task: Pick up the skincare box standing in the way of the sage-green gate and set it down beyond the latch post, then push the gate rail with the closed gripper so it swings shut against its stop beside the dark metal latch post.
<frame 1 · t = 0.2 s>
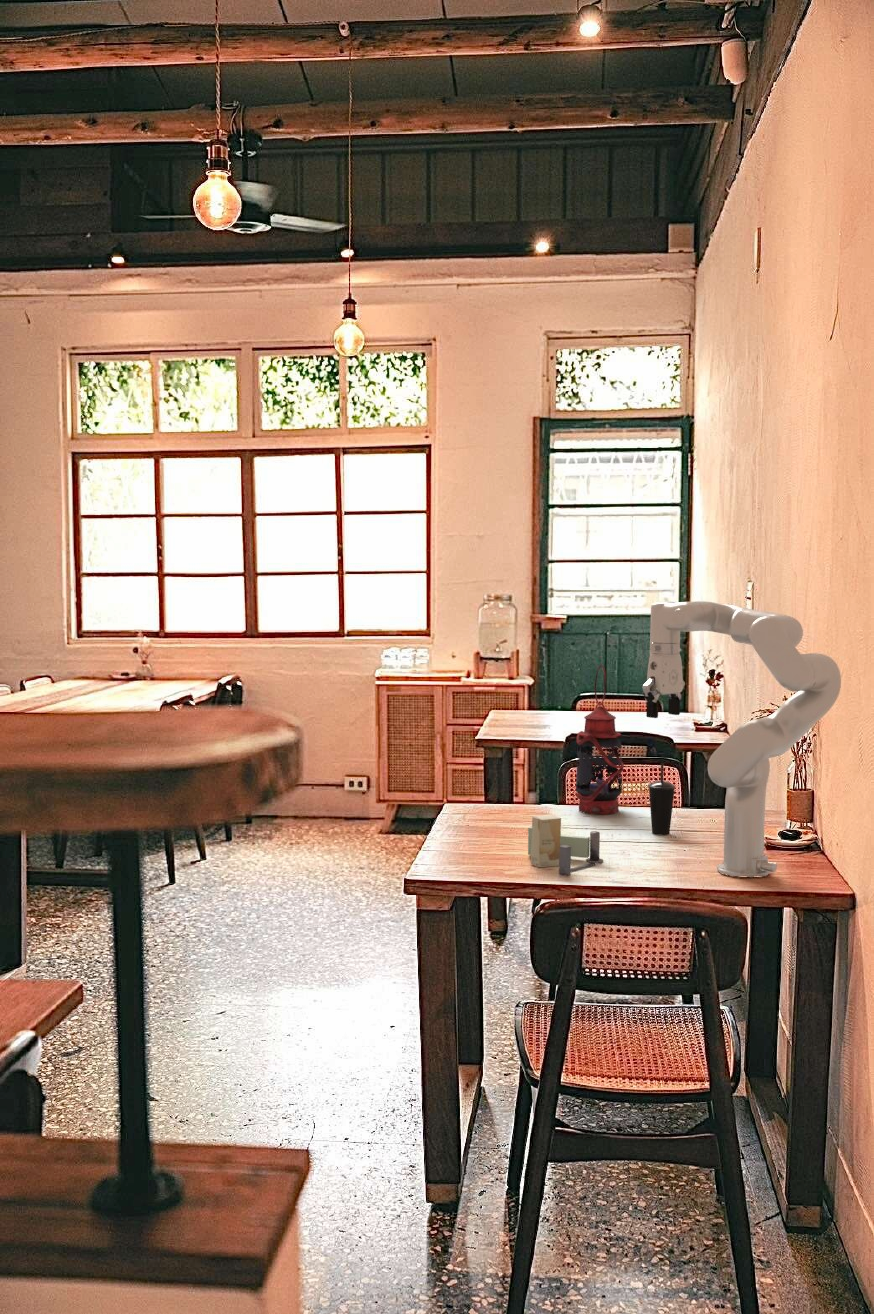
hand: (663, 716, 313), 37 cm above the table, tool pointing down, fingers open, 9 cm apart
drinking cup: (660, 834, 342), on the table
latch post: (564, 874, 295), on the table
gate: (558, 842, 312), point 4 cm above the table, hinge at -65.0°
hinge post: (594, 861, 309), on the table
skincare box: (545, 866, 305), on the table
lantern: (599, 811, 374), on the table
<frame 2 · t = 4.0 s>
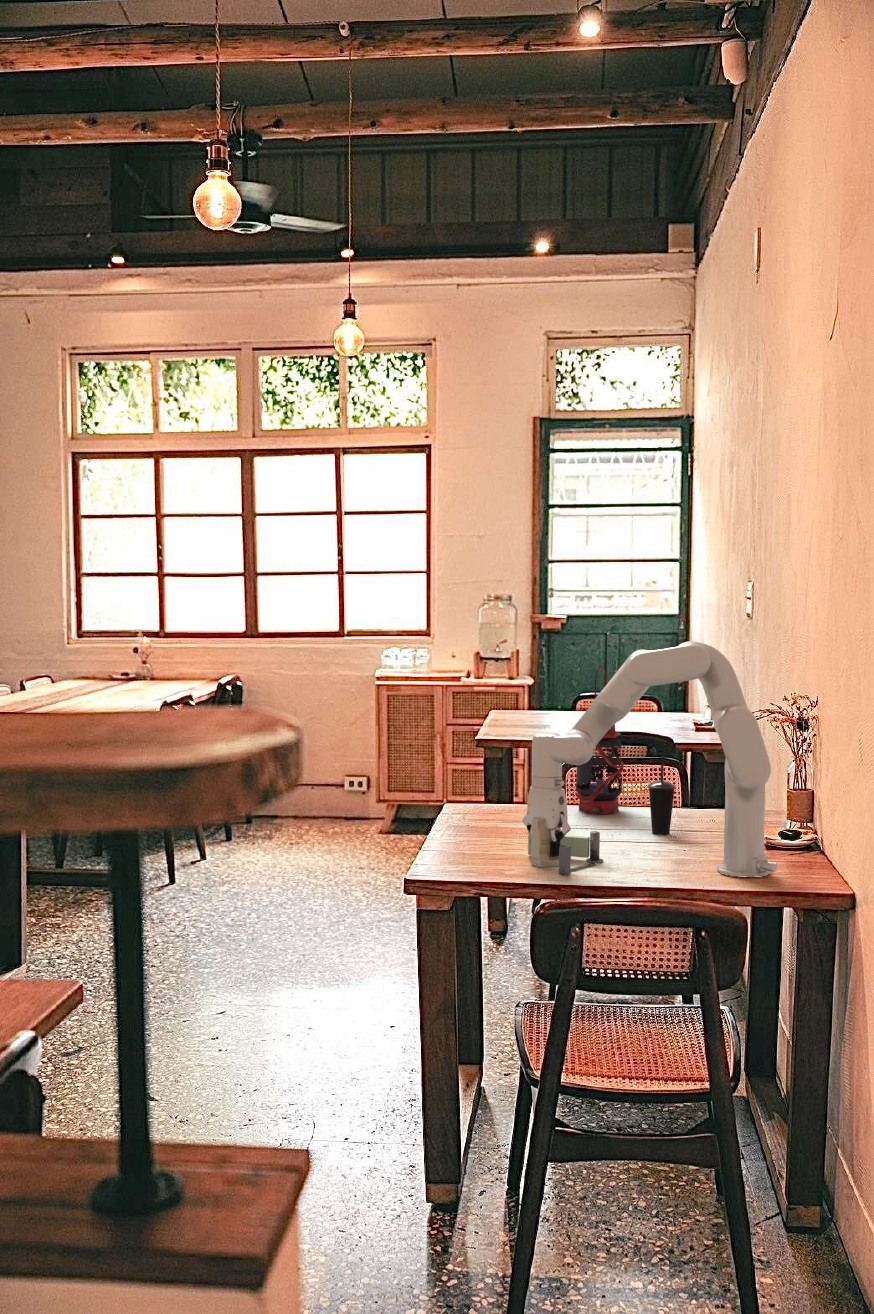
hand: (545, 853, 304), 3 cm above the table, tool pointing down, fingers closed on skincare box, 5 cm apart
skincare box: (545, 865, 305), on the table, touching gripper
everything else where it was.
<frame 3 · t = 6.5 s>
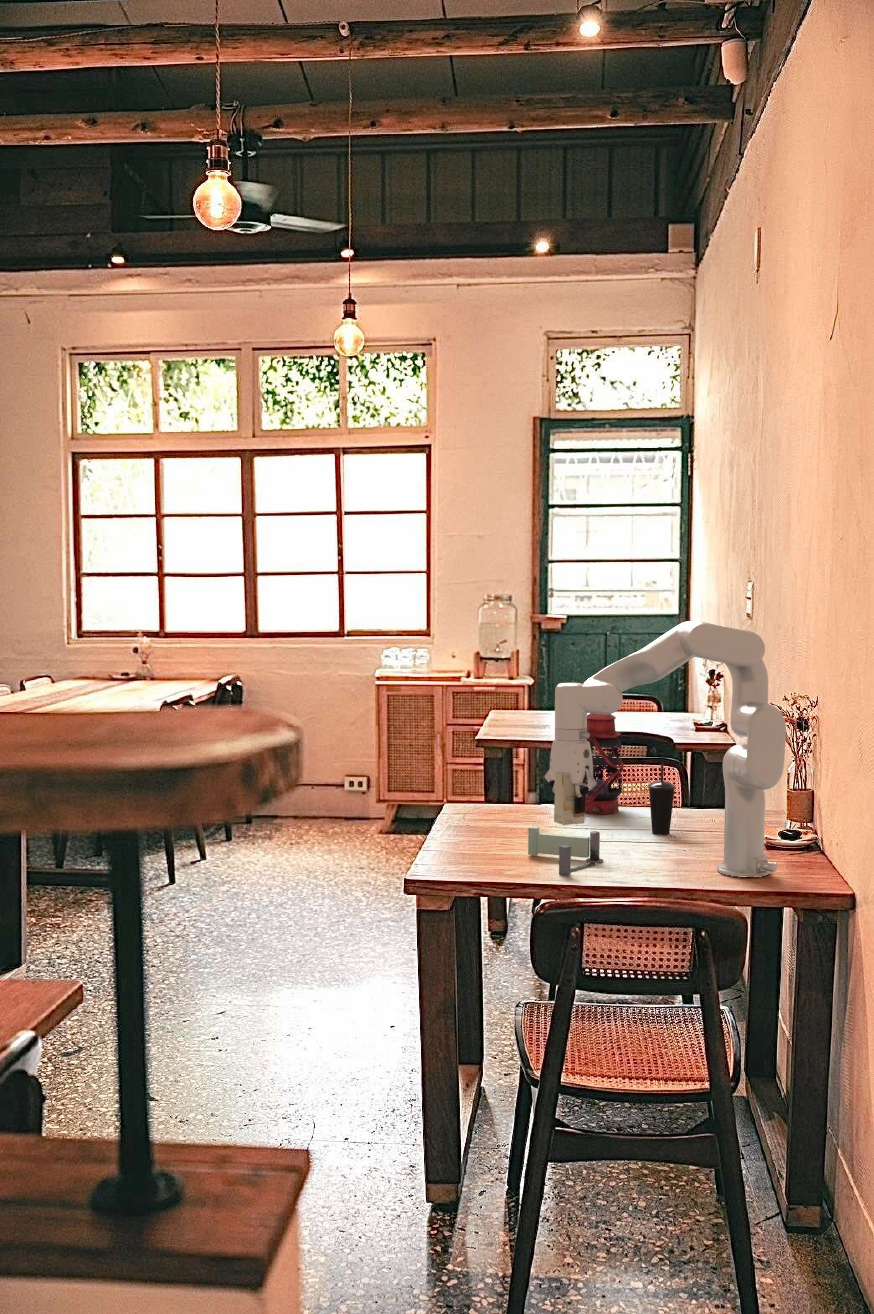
hand: (569, 810, 288), 17 cm above the table, tool pointing down, fingers closed on skincare box, 5 cm apart
skincare box: (569, 823, 288), point 14 cm above the table, touching gripper
everything else where it was.
when the fingers open (4 cm above the table, at t = 9.2 s): skincare box drops 1 cm, on the table.
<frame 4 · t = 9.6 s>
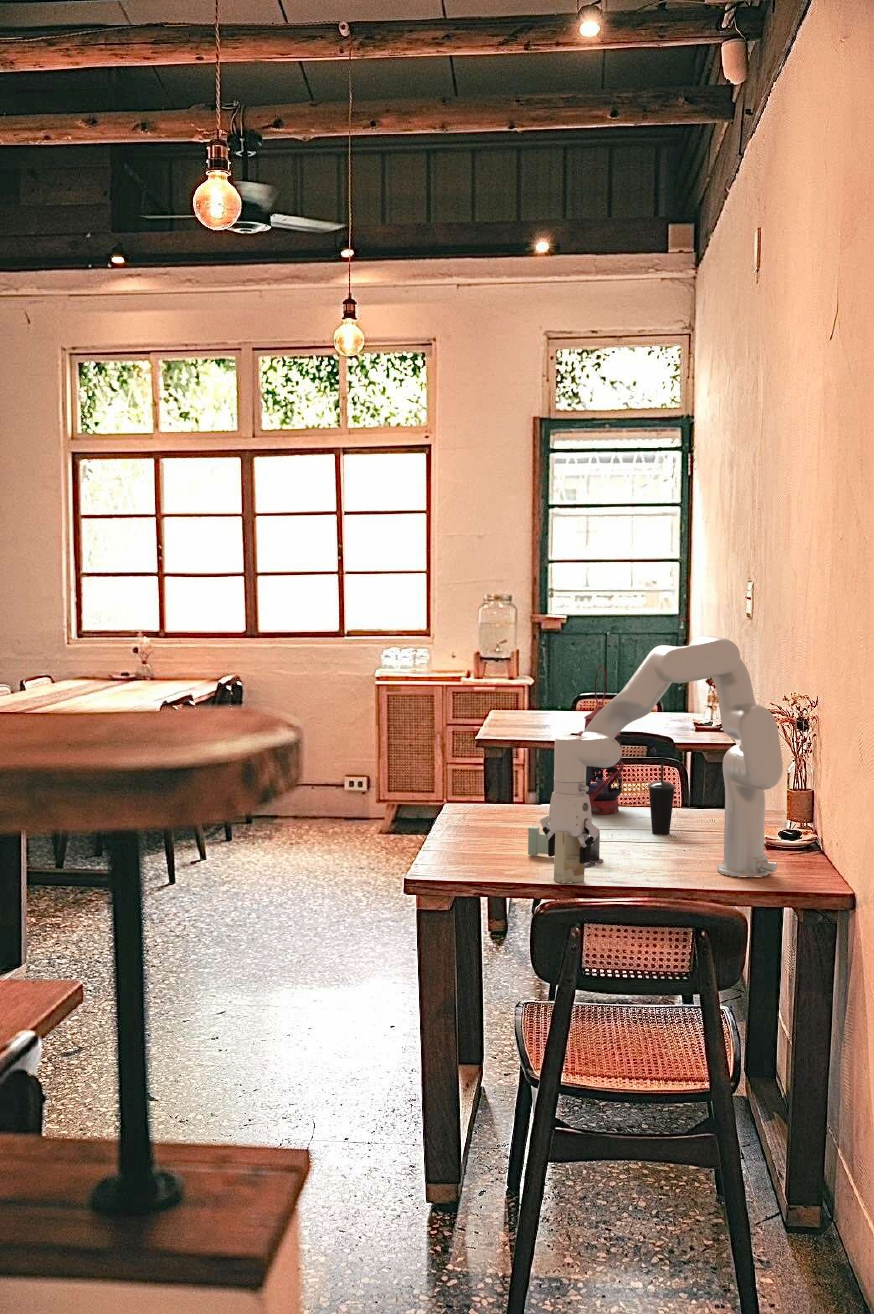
hand: (568, 859, 289), 5 cm above the table, tool pointing down, fingers open, 9 cm apart
skincare box: (569, 882, 289), on the table
everything else where it was.
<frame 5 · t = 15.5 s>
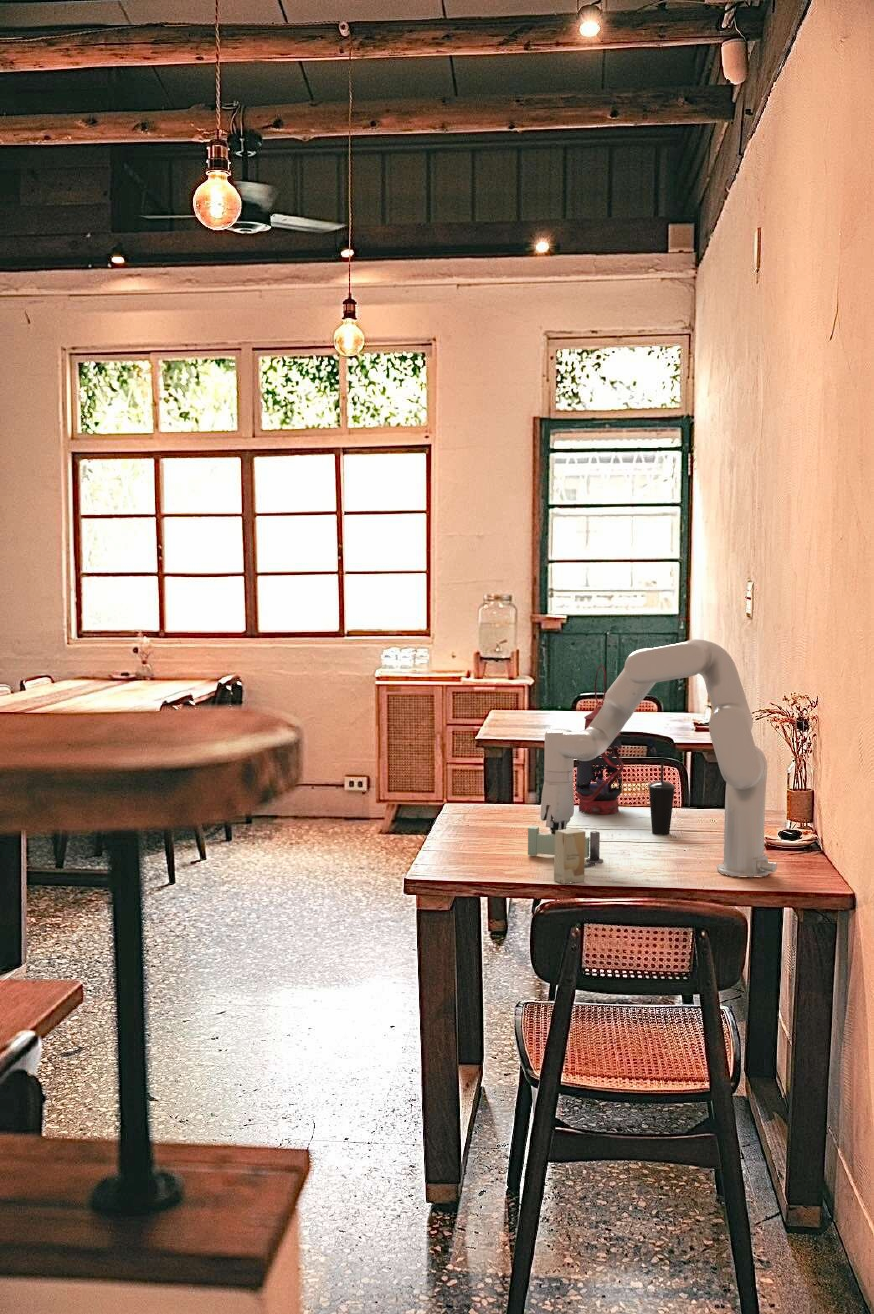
hand: (557, 846, 315), 2 cm above the table, tool pointing down, fingers closed
gate: (558, 843, 312), point 4 cm above the table, hinge at -63.6°, touching gripper
everything else where it was.
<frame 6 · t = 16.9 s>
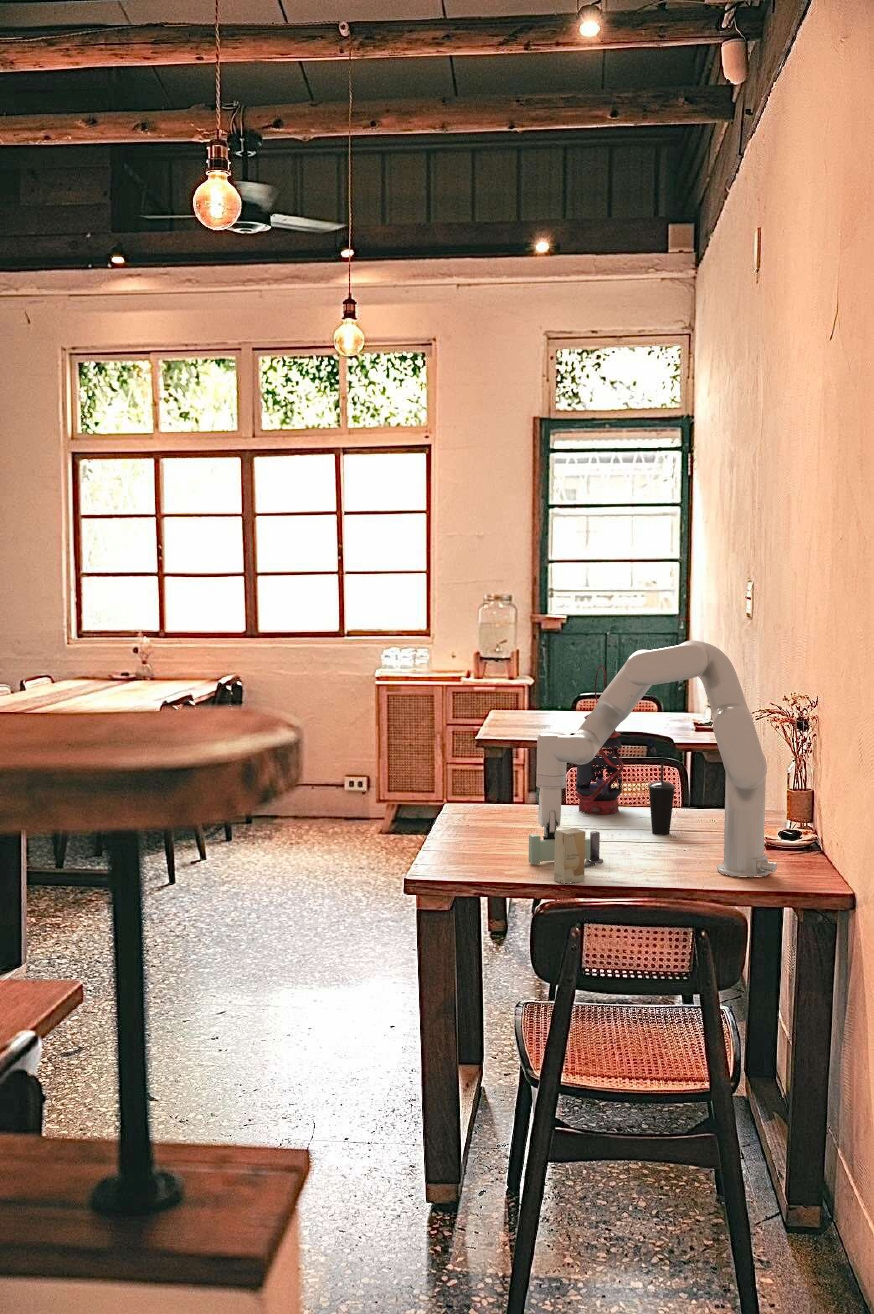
hand: (549, 852, 309), 2 cm above the table, tool pointing down, fingers closed
gate: (559, 847, 306), point 4 cm above the table, hinge at -30.2°, touching gripper
everything else where it was.
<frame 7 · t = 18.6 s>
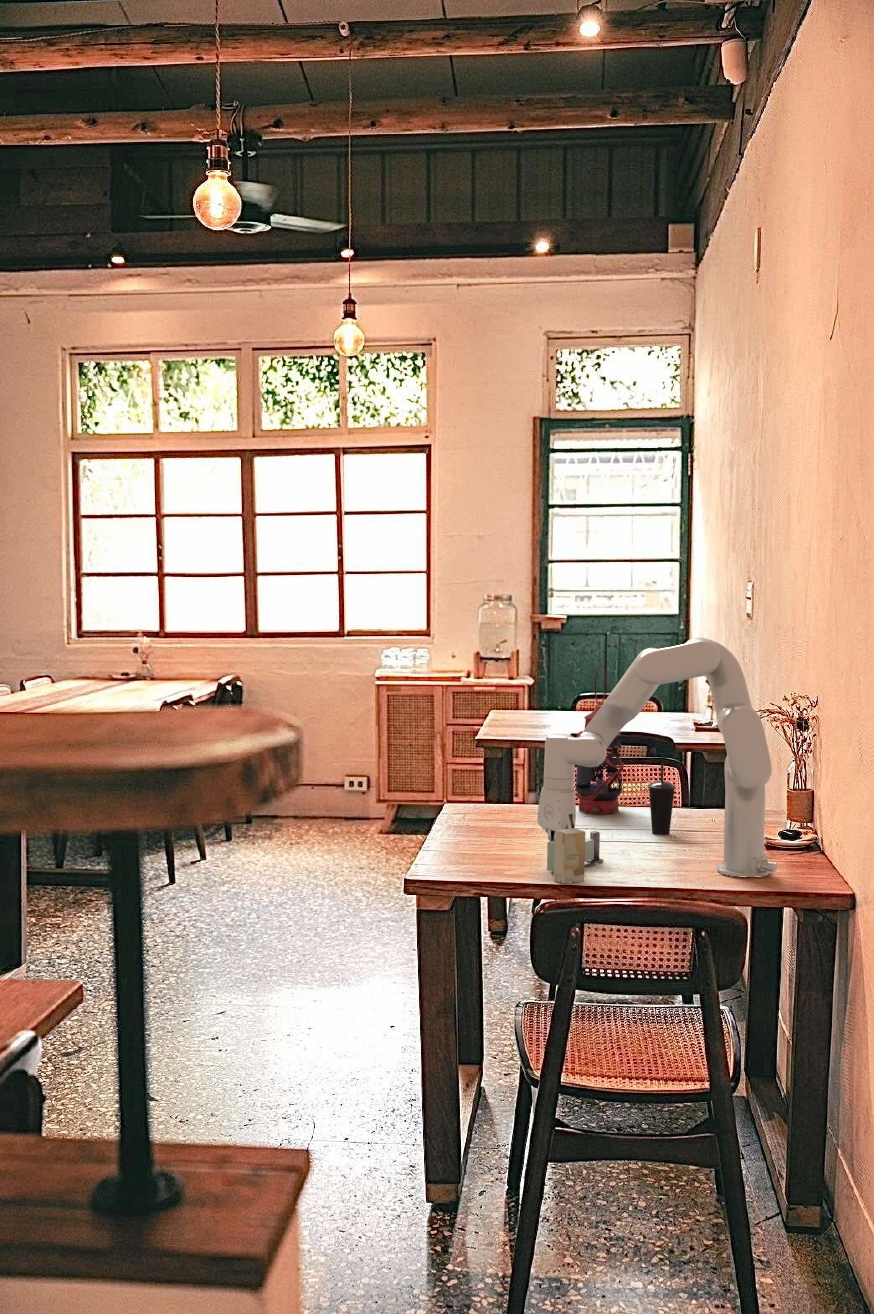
hand: (555, 856, 303), 2 cm above the table, tool pointing down, fingers closed
gate: (571, 851, 302), point 4 cm above the table, hinge at 0.5°, touching gripper
everything else where it was.
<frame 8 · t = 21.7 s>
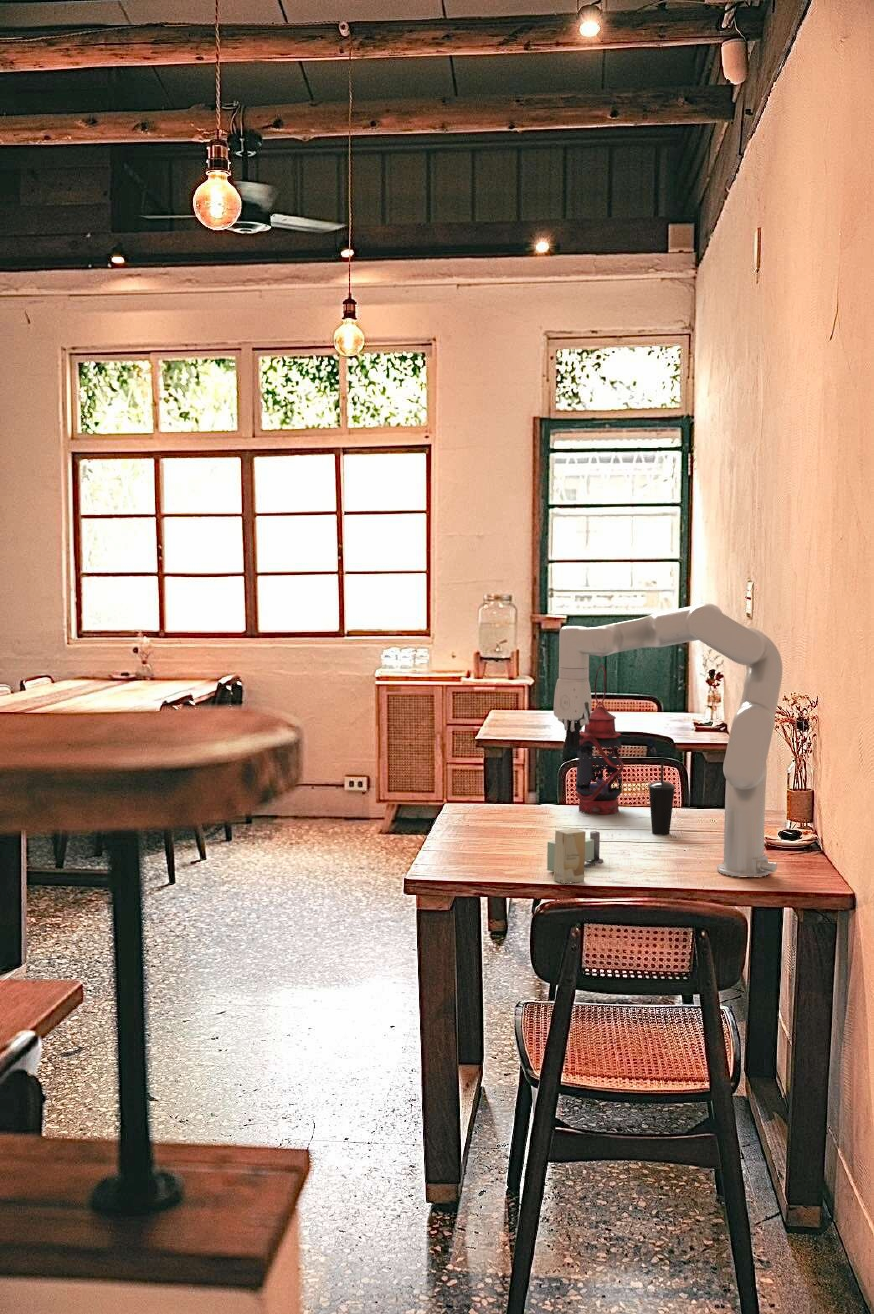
hand: (572, 746, 310), 29 cm above the table, tool pointing down, fingers closed
gate: (571, 851, 302), point 4 cm above the table, hinge at 0.7°
everything else where it was.
at the end: gate at +1° (first picture: -65°); skincare box inside the target area (0.1 cm from its centre), on the table; skincare box tilted 0° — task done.
